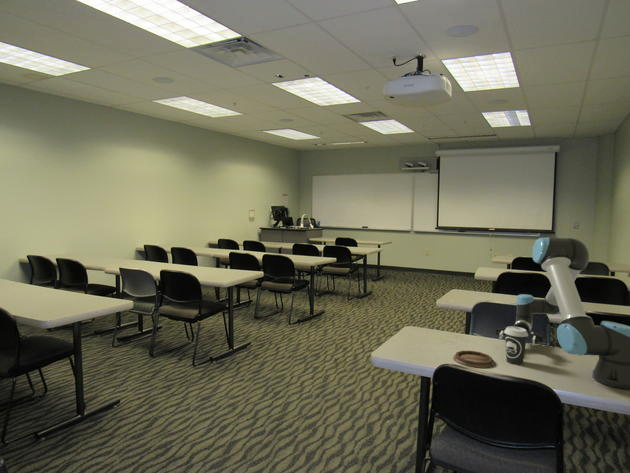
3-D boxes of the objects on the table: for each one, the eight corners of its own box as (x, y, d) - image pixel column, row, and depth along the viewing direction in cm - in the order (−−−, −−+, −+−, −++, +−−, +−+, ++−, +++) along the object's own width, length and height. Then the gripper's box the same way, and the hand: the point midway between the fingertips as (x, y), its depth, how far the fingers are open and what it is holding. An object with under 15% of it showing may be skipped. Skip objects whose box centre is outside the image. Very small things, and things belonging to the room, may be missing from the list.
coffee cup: (529, 367, 173) (531, 332, 172) (505, 365, 175) (507, 331, 174) (522, 359, 182) (524, 326, 181) (500, 357, 184) (501, 325, 183)
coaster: (501, 368, 171) (501, 363, 171) (462, 367, 171) (462, 363, 170) (484, 354, 188) (484, 350, 188) (447, 353, 187) (448, 349, 187)
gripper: (550, 341, 195) (547, 353, 177) (494, 332, 209) (486, 342, 191) (550, 325, 195) (548, 336, 177) (495, 317, 208) (487, 326, 191)
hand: (516, 339), depth 184 cm, fingers open, 13 cm apart
